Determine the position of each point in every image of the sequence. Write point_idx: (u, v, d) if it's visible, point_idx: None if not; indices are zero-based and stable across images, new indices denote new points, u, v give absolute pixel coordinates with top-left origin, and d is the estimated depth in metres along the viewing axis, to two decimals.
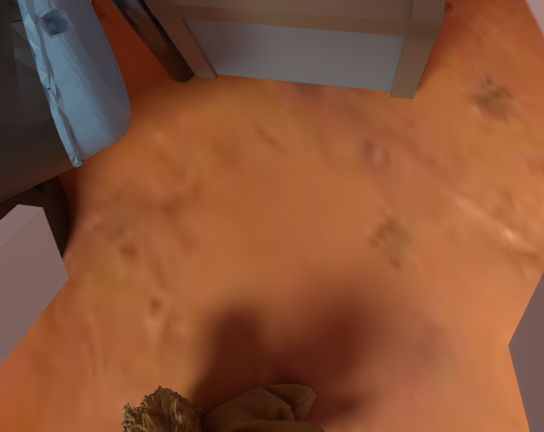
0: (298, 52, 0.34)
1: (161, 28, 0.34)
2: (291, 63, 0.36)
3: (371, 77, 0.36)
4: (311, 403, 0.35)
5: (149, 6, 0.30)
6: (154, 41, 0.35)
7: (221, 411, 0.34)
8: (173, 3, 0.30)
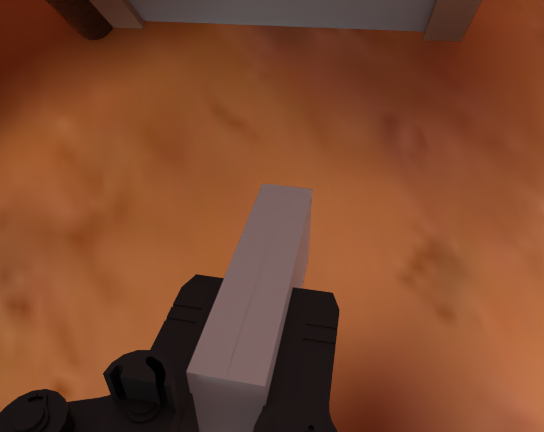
0: None
1: None
2: None
3: (393, 5, 0.21)
4: None
5: None
6: None
7: None
8: None
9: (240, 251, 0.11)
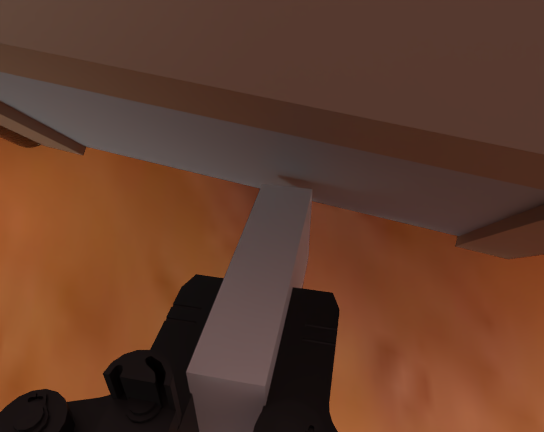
0: (234, 152, 0.12)
1: None
2: (224, 162, 0.14)
3: (419, 216, 0.14)
4: None
5: None
6: None
7: None
8: None
9: (240, 251, 0.11)
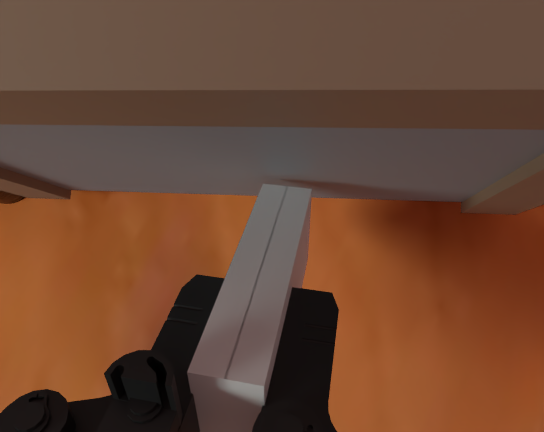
0: (228, 162, 0.12)
1: None
2: (218, 175, 0.14)
3: (422, 189, 0.14)
4: None
5: None
6: None
7: None
8: None
9: (241, 251, 0.11)
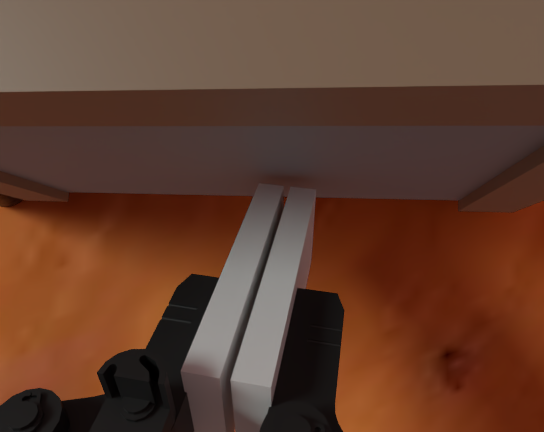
0: (224, 162, 0.12)
1: None
2: (214, 176, 0.14)
3: (418, 187, 0.14)
4: None
5: None
6: None
7: None
8: None
9: (236, 250, 0.11)
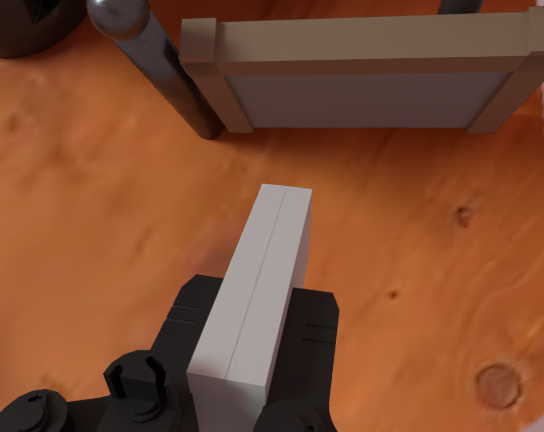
0: (363, 98, 0.28)
1: (169, 99, 0.28)
2: (350, 109, 0.30)
3: (447, 116, 0.30)
4: None
5: (184, 66, 0.24)
6: None
7: None
8: (216, 61, 0.23)
9: (240, 251, 0.11)
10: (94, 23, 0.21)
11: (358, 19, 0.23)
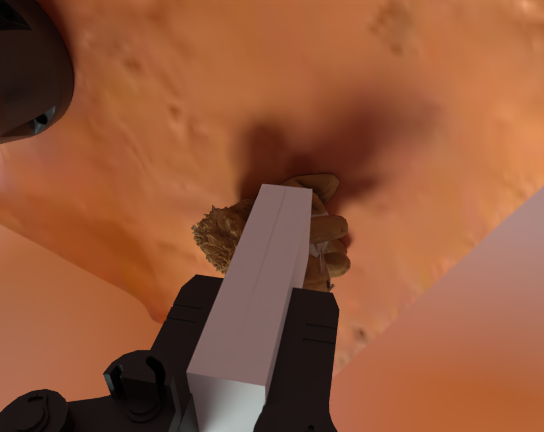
0: None
1: None
2: None
3: None
4: (335, 189, 0.43)
5: None
6: None
7: None
8: None
9: (240, 251, 0.11)
10: None
11: None
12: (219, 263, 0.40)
